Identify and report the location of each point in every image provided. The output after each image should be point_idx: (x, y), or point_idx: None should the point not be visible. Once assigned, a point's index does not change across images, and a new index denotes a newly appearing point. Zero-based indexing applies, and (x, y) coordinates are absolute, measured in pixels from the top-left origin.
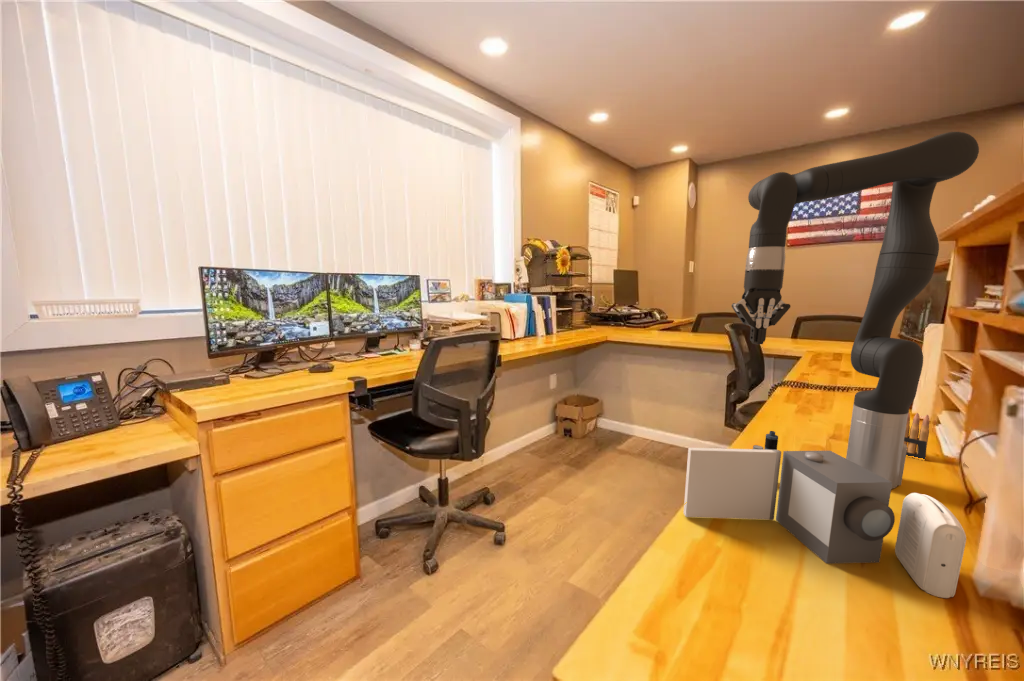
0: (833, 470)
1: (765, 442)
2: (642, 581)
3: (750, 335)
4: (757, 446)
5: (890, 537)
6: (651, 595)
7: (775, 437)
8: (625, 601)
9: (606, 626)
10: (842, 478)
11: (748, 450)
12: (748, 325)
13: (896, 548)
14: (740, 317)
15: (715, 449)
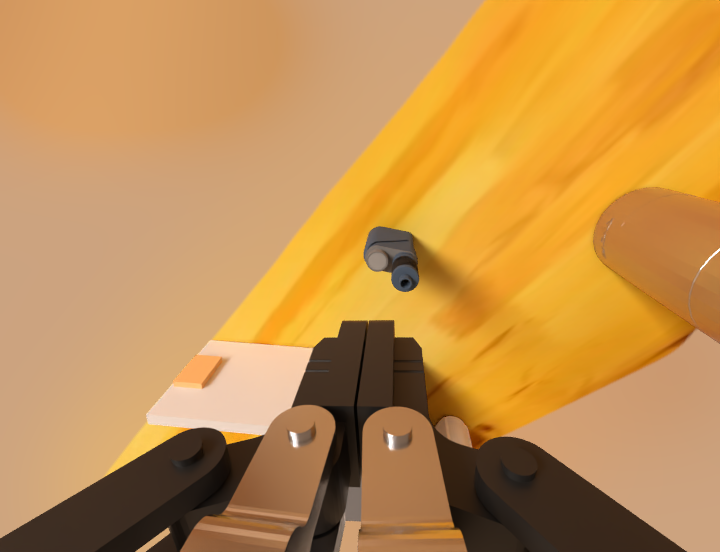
0: (355, 493)
1: (392, 268)
2: (147, 431)
3: (306, 372)
4: (377, 257)
5: (473, 388)
6: (154, 445)
7: (405, 291)
8: (131, 449)
9: (117, 466)
10: (349, 511)
11: (253, 429)
12: (244, 445)
13: (440, 426)
14: (66, 532)
15: (193, 423)
